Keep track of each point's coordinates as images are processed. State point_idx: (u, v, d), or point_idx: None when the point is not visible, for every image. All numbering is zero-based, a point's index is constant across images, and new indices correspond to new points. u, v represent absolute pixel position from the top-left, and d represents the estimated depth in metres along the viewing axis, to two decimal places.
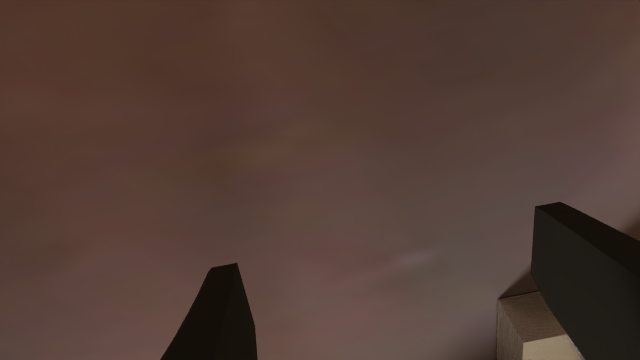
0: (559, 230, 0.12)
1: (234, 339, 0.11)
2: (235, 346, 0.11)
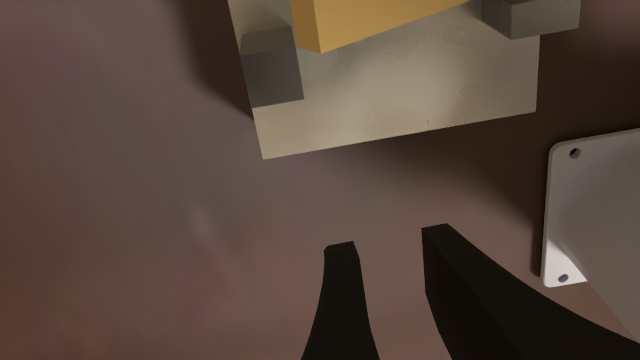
0: (436, 254, 0.12)
1: None
2: None
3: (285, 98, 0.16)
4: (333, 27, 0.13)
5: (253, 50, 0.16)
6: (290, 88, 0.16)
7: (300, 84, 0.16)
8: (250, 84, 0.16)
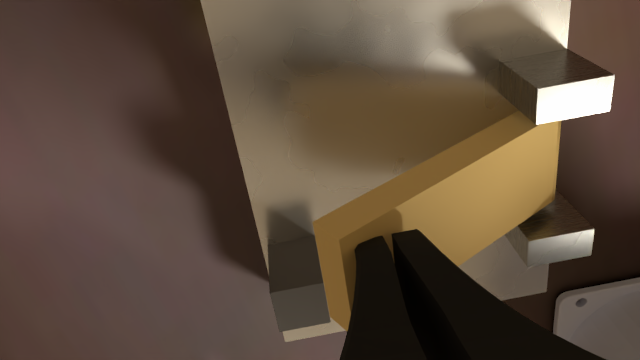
0: (403, 260, 0.12)
1: None
2: None
3: (312, 322, 0.17)
4: None
5: (282, 284, 0.16)
6: (317, 314, 0.17)
7: (327, 311, 0.17)
8: (279, 314, 0.16)
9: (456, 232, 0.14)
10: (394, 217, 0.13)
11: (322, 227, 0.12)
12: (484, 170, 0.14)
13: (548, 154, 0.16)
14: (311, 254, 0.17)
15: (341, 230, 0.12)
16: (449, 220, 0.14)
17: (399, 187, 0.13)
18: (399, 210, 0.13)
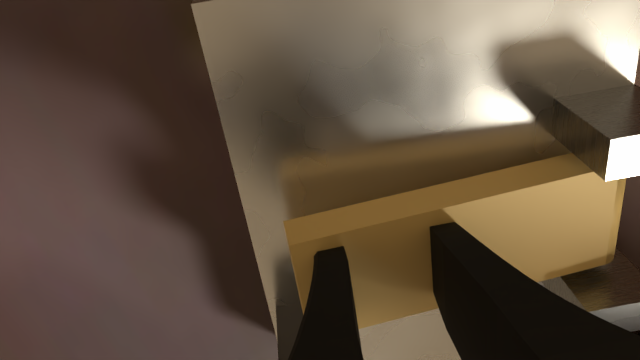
0: (445, 252, 0.12)
1: (355, 316, 0.11)
2: (356, 323, 0.11)
3: None
4: None
5: None
6: None
7: None
8: None
9: None
10: (360, 237, 0.12)
11: (285, 229, 0.13)
12: (492, 211, 0.13)
13: (600, 209, 0.13)
14: None
15: (299, 236, 0.12)
16: None
17: (382, 208, 0.13)
18: (367, 231, 0.12)
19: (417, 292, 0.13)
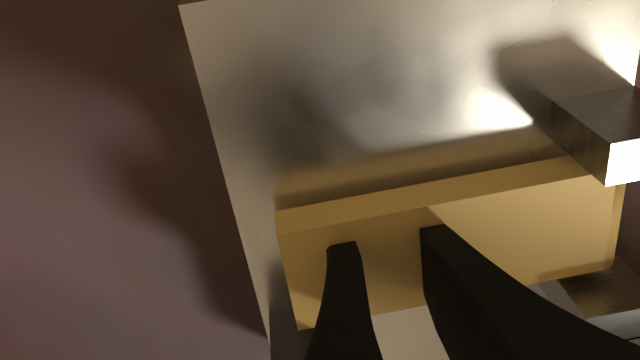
0: (434, 254, 0.12)
1: None
2: None
3: None
4: (312, 313, 0.14)
5: None
6: None
7: None
8: None
9: None
10: (347, 230, 0.12)
11: (275, 219, 0.13)
12: (482, 210, 0.13)
13: (597, 214, 0.13)
14: None
15: (287, 227, 0.12)
16: None
17: (372, 202, 0.13)
18: (354, 225, 0.12)
19: (405, 288, 0.14)
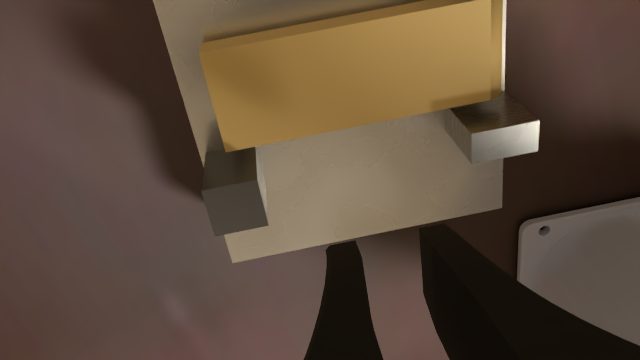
0: (433, 254, 0.12)
1: None
2: None
3: (249, 226, 0.16)
4: (236, 134, 0.16)
5: (215, 182, 0.15)
6: (254, 216, 0.16)
7: (263, 213, 0.16)
8: (213, 215, 0.16)
9: (343, 91, 0.15)
10: (260, 51, 0.15)
11: (200, 46, 0.15)
12: (376, 35, 0.15)
13: (478, 42, 0.15)
14: (248, 157, 0.17)
15: (208, 49, 0.15)
16: (332, 75, 0.15)
17: (283, 31, 0.15)
18: (265, 46, 0.15)
19: (316, 111, 0.16)
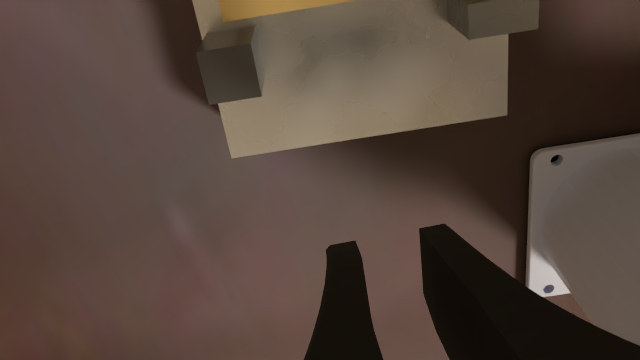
0: (433, 254, 0.12)
1: None
2: None
3: (242, 95, 0.16)
4: (234, 2, 0.16)
5: (210, 47, 0.16)
6: (247, 85, 0.16)
7: (257, 81, 0.16)
8: (207, 81, 0.16)
9: None
10: None
11: None
12: None
13: None
14: (246, 33, 0.17)
15: None
16: None
17: None
18: None
19: None
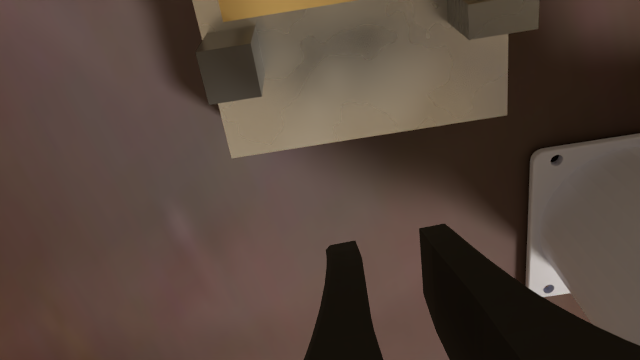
0: (433, 254, 0.12)
1: None
2: None
3: (242, 95, 0.16)
4: (234, 2, 0.16)
5: (210, 47, 0.16)
6: (247, 85, 0.16)
7: (257, 81, 0.16)
8: (207, 81, 0.16)
9: None
10: None
11: None
12: None
13: None
14: (246, 33, 0.17)
15: None
16: None
17: None
18: None
19: None
